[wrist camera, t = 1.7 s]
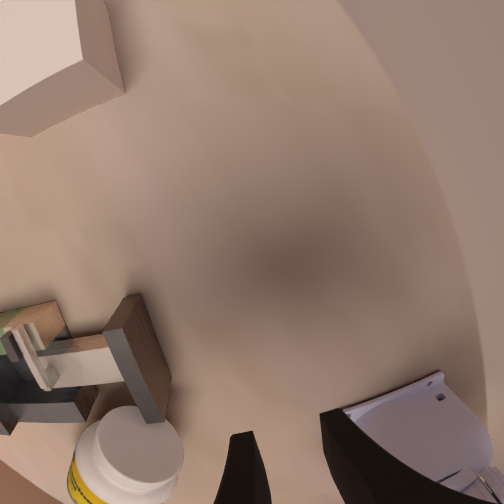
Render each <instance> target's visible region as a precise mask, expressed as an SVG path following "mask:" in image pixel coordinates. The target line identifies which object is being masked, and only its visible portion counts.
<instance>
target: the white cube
mask: <svg viewBox="0 0 504 504" xmlns="http://www.w3.org/2000/svg"><path fill="white" fill-rule="evenodd" d="M123 94H125V92H124V87H123V83H122V78H121V74H120V69H119V65H118V60H117V55H116V51H115V46H114V41H113V35H112V30H111V25H110V19H109V13H108V8H107V6H106V4H105V3H104V1H103V0H0V134H9V135H18V136H26V137H33V136H34V135H36V134H38V133H40V132H42V131H44V130H46V129H48V128H50V127H52V126H53V125H55V124H57V123H59V122H62V121H64V120H66V119H68V118H70V117H72V116H74V115H76V114H78V113H81V112H83V111H85V110H87V109H89V108H92V107H94V106H96V105H99V104H101V103H103V102H106V101H108V100H111V99H113V98H116V97H118V96H121V95H123Z"/></svg>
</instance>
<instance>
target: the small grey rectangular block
mask: <svg viewBox="0 0 504 504" xmlns="http://www.w3.org/2000/svg"><path fill="white" fill-rule="evenodd" d="M0 341H1V343H2V345H3V347H4V349H5V351H6V353H7V355H8V357H9V359H10V361H11V362H16V361H20V360H21V359H22V358H23V357H24V356H23V354H22V352H21V350H20V348H19V346H18V344H17V342H16V340H15V338H14V336H13V333H12V330H11V331H7V332H6V333H5V334H4V335H3V336H2V337H1V338H0Z"/></svg>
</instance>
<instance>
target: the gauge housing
mask: <svg viewBox="0 0 504 504" xmlns="http://www.w3.org/2000/svg"><path fill="white" fill-rule="evenodd" d="M18 325H23V326H24V328H25V330H26V332H27V335H28V337H29V339H30V341H31V343H32V345H33V347H34V350H35V352H36V354H37V353H38V352H39V351H40V350H45V349H46V348H47V347H48V346H49V344H50V343H51V342H55V341H61V340H67V339H72V338H71V336H70V334H69V332H68V329H67V327H66V325H65V322H64V320H63V317H62V315H61V312H60V310H59V307H58V305H57V302H56V301H52V302H48V303H43V304H39V305H34V306H30V307H25V308H21V309H16V310H11V311H7V312H2V313H0V338H1V337H2V336H3V335H4V334H5V333H6V332H7V331H11V330H13V329H14V328H15V327H16V326H18ZM97 395H98V391H97V389H96V388H95V386H94V385H86V386H75V387H63V388H53V389H52V391H45V390H44V389H41V388H40V386H39V384H38V383H37V381H36V379H35V377H34V375H33V374H32V372H31V370H30V368H29V366H28V364H27V362H26V360H25V358H24V357H23V358H22V359H21V360H20V361H16V362H11V361H10V359H9V357H8V355H7V353H6V351H5V349H4V347H3V345H2V343H1V341H0V434H1V435H11V433H12V431H13V430H14V428H15V426H16V425H17V423H18V422H39V423H75V422H86V421H87V418H88V416H89V414H90V411H91V409H92V406H93V404H94V402H95V399H96V397H97Z"/></svg>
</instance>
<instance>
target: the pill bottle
mask: <svg viewBox="0 0 504 504" xmlns="http://www.w3.org/2000/svg"><path fill="white" fill-rule="evenodd" d="M183 460H184V448H183V444H182V441H181V439H180V436H179V435H178V433H177V431H176V430H175V429H174V427H173V426H172V425H171V424H170V423H169V422H168V421H167V420H166V419H165V422H162V423H153V424H147V423H146V422H145V420H144V418H143V416H142V414H141V412H140V411H139V409H138V407H137V406H121V407H118V408H115V409H113V410H111V411H109V412H108V413H107V414H106V415H105V416H104V417H103V418H102V419H101V420H98V421H96V422H94V423H93V424H91V425H90V426H88V427H87V428H86V429H85V430H84V431H83V433H82V434H81V436H80V438H79V440H78V442H77V444H76V448H75V451H74V453H73V458H72V462H71V465H70V468H69V472H68V477H67V489H68V493H69V496H70V498H71V500H72V502H73V504H161V503H163V502H164V501H165V500H166V499H167V498H168V497H169V496H170V495H171V494H172V492H173V490H174V488H175V486H176V483H177V479H178V472H179V471H180V469H181V467H182V464H183Z"/></svg>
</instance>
